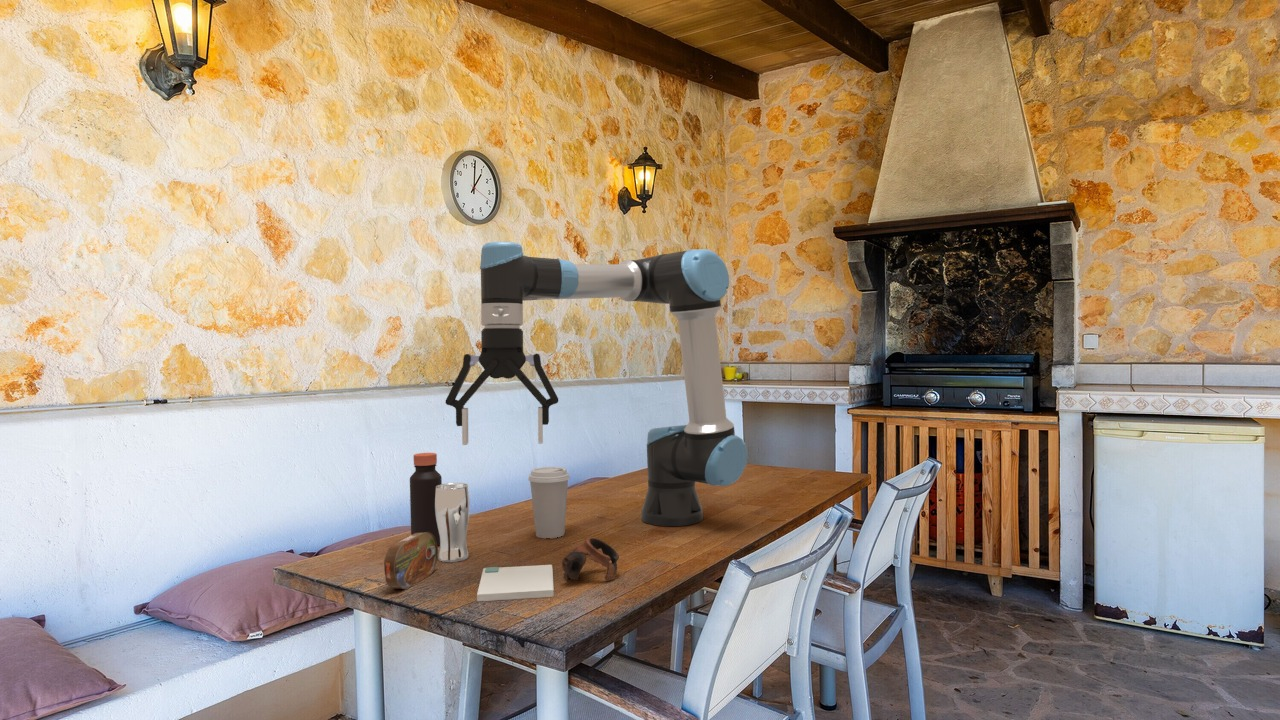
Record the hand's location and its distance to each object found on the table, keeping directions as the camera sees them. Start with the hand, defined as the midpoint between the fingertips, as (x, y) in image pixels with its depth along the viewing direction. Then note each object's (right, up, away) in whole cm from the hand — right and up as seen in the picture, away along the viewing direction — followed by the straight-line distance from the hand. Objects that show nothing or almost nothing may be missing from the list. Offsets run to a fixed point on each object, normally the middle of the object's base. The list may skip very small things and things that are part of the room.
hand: (503, 443), depth 137 cm
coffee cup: (+4, -25, +34) cm, 43 cm away
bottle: (-22, -26, +28) cm, 44 cm away
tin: (-17, -26, +2) cm, 32 cm away
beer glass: (-13, -26, +17) cm, 33 cm away
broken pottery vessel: (+15, -26, +2) cm, 30 cm away
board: (+3, -26, -1) cm, 26 cm away
